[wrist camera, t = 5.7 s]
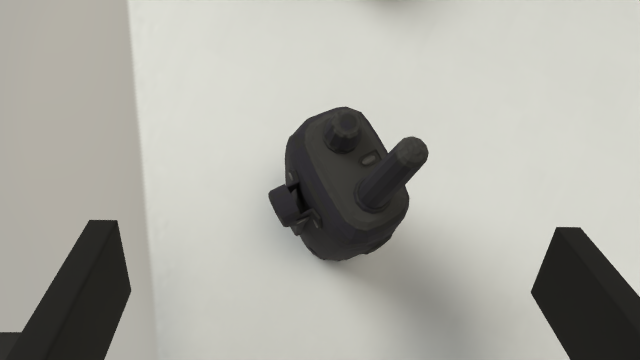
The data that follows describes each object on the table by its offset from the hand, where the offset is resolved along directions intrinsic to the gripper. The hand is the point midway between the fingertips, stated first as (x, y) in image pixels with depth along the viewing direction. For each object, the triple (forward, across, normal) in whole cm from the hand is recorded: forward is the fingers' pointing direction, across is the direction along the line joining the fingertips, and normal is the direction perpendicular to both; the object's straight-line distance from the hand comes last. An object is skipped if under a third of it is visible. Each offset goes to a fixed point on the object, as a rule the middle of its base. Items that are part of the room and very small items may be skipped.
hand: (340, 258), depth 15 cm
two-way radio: (+9, 0, -6) cm, 11 cm away
